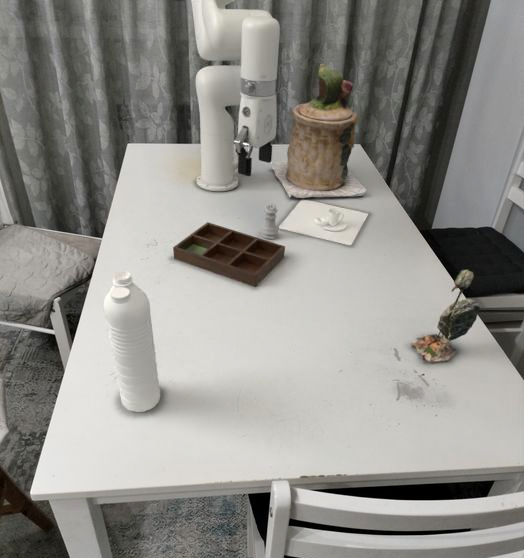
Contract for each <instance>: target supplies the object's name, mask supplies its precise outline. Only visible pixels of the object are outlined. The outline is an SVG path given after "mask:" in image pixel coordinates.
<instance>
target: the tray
mask: <svg viewBox="0 0 524 558" xmlns="http://www.w3.org/2000/svg"><path fill="white" fill-rule="evenodd" d="M172 251H173V260H176V261H178V262H183V263H185V264H188V265H190V266H194V267H197V268H199V269H201V270H206V271H207V272H211V273H214V274H217V275H220V276H222V277H226V278H228V279H231V280H233V281H237V282H240V283H243V284H245V285H248V286H251V287H254V288H257V286H258V285H259V284H260V283H261V282H262V281H263V280H264V279H265V278H266V276H268V275H269V274H270V273H271V271H273V270H274V269H275V268H276V267H277V266H278V264H279V263H280V262H281V261H283V259H284V258H285V253H286V246H285V245H283V244H279V243H275V242H273V241H269V240H267V239H266V240H265V239H264V238H260V237H256V236H253V235H250V234H247V233H243V232H241V231H237V230H234V229H231V228H227V227H226V226H225V227H224V226H221V225H219V224H215V223H212V222H208V221H207V222H205V223H204V224H203V225H202V226H200V227H199V228H197V229H196V230H195V231H193V232H192V233H191V234H189V235H188V236H186V237H185V238H184V239H182V240H181V241H179V242H178V243H177V244H176V245H174V246H173V247H172Z"/></svg>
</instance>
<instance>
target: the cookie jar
mask: <svg viewBox="0 0 524 558" xmlns="http://www.w3.org/2000/svg"><path fill="white" fill-rule="evenodd" d="M317 73H318V74H317V75H318V81H317V84H318V95H317V96H316V97H314V98H313V99H311V100H310V101H308V102H306V103H299V104H297V105H295V107H293V108H292V110H291V115H292V118H293V124H292V128H291V132H290V138H289V139H290V140H289V143H288V146H287V151H286V157H287V161H276V160H275V161H271V162H270V165H271V168H272V171H273V173H274V176H275V177H276V178H277V179H278V180H279V182H280V184H281V185H282V186H283V188H284V189H285V192H286V193H287V195H288V197H289V199H290V198H291V197H294V198H299V199H305V198H310V197H311V198H312V197H314V198H339V197H362V196H364V195H365V194H366V193H367V189H366V187H365V185H362V183H360V182H359V180H358V179H357V177H356V176H354V175H353V173H351V172H350V170H349V169H348V162H349V159H350V156H351V154H352V150H353V149H354V148H355V130H356V126H357V123H358V119H357V117H358V116H357V113H356V112H353V111H352V110H351V108H349V106H348V105H347V100H346V98H348V97H350V96H351V93H352V90H353V87H354V84H353V83H352V81H350V80H347V79H346V80H345V79H344V78H343V77H344V76H343V75H342V73H341V72H340V71H339V70H336V69H333V68H330V67H328V66H327V65H326V64H325V63H321V64H320V65H319V67H318V71H317Z"/></svg>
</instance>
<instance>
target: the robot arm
mask: <svg viewBox="0 0 524 558" xmlns="http://www.w3.org/2000/svg"><path fill="white" fill-rule="evenodd" d="M235 1H236V0H190V2H191V10H192V18H193V27H194V35H195V36H194V37H195V44H196V48H197V54H198V55H199V56H200V58H201V59H202V60H205V61H210V62H228V61H229V62H230V61H235V62H237V63H238V65H230V64H229V65H225V64H224V65H208V66H204V67H202V68H201V69H199V70H198V71H197V73H196V75H195V81H194V82H195V91H196V96H197V97H196V98H197V103H198V111H199V130H200V132H199V133H200V134H199V135H200V161H201V162H200V164H201V165H200V167H201V172H200V174H199V175H198V176H197V177H196V184H197V186H198V187H200V188H202V189H203V190H206V191H211V192H228V191H231V190H234V189H236V188H237V187H238V185H239V179H238V177H237V176H236V175H235V173H234V172H235V170H237V174H239V175H242V176H246V177H250V176H252V166H253V160H252V159H253V157H251V156H252V153H253V151H254V149H258V161H259V162H264V163H267V164H269V163H270V164H271V162H272V157H273V145H274V140H275V138H276V136H277V125H278V122H277V121H278V107H277V106H278V105H277V104H278V103H277V83H278V82H277V79H278V64H279V48H280V33H281V26H280V23H279V21H278V19H276V18H274V17H273V16H272V14H271V13H270V12H269V11H267V10H263V9H244V8H243V9H239V8H226V6H227V5H229V4H231V3H233V2H235ZM230 106H239V110H238V111H239V112H238V122H237V123H238V127H237V131H238V132H237V136H236V137H235V123H234V120H233V117H232V115H231V114H230V113H229V112H228V110H226V107H230ZM246 148H247V150H246ZM234 150H235V151H234ZM234 152H235V153H236V156H237V161H234V159H235V158H234V154H235V153H234Z"/></svg>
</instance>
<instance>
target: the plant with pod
mask: <svg viewBox="0 0 524 558" xmlns="http://www.w3.org/2000/svg"><path fill="white" fill-rule="evenodd" d="M474 277H475V276H474V272H473V271H472V270H471V271H470V270H469V269H462V270H460V272H459V273H458V274H457V276H456V278H455V280H454V281H453V284H454V287H452V289H451V293H453V292H454V291H455V290H456V289H460V290H459V292H458V295H457V296H456V299H455V301H454V302H453V303H451V304H450V305H449V306H447V307H446V309H444V310H443V312H442V313H441V314H440V315H439V320H438V322H437V329H438V330H439V332H438V333H435V334H425V335H422V336H420V337H416V339H415V340H413V341H412V342H411V343H410V346H411V347H413V348H416V350H415V351H417V353H418V355H419V356H420V357H421V359H422V361H423V362H427V363H435V362H436V363H437V362H443V361H444V362H447V361H449V360H450V359H451V358H452V357H453V355H455V354H456V352H458V350H457V349H456V347H452V346H451V345H450V344H449V342H452V341H455V340H458V339H459V338H460V337H462V336H465V335H466V334H467V333H468V332H469V330H470V329H471V328H472V327H473V325H474V323H475V322H476V321H477V318H478V315H479V312H480V310H481V306H483V307H484V303H482V304H481V305H480V304H479V303H478V302H477V301H475V300H474V299H471V298H464V299H460V297H461V296H462V293H463V292H464V290H466V289H468V288H469V287H470V285H471V284H472V282H473V280H474Z"/></svg>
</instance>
